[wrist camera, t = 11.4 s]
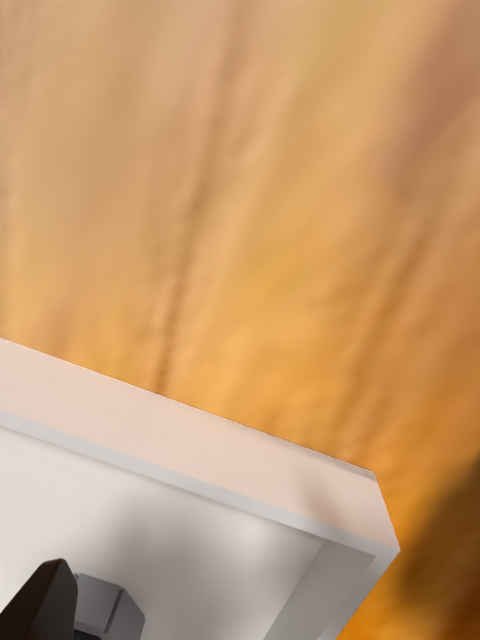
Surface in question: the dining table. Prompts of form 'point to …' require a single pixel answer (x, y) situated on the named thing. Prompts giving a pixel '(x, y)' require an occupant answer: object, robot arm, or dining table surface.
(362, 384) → the dining table surface
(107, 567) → the walled box
